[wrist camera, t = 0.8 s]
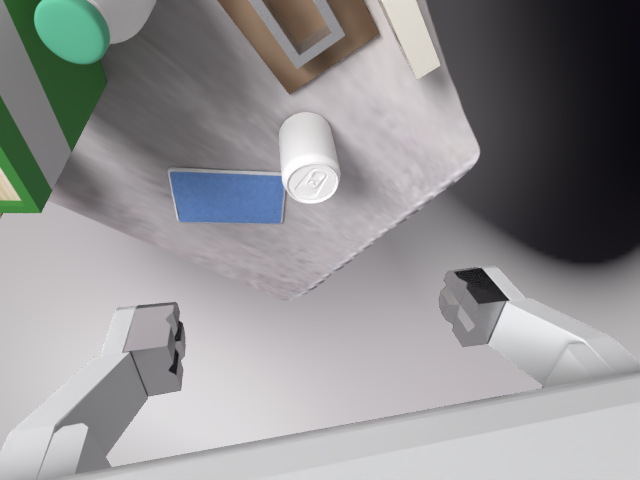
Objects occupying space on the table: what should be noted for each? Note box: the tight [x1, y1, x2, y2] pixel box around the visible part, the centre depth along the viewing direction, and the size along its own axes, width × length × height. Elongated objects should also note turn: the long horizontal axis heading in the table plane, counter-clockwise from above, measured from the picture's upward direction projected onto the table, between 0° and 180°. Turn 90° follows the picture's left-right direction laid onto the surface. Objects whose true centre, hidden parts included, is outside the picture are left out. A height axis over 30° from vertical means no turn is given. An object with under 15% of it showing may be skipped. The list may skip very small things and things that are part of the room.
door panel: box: [378, 0, 440, 79], centre depth 45 cm, size 3×10×8 cm, turn 32°
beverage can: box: [279, 112, 341, 204], centre depth 55 cm, size 8×8×12 cm
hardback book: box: [0, 0, 107, 213], centre depth 35 cm, size 18×7×24 cm, turn 174°
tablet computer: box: [168, 167, 286, 224], centre depth 67 cm, size 19×13×1 cm, turn 82°
